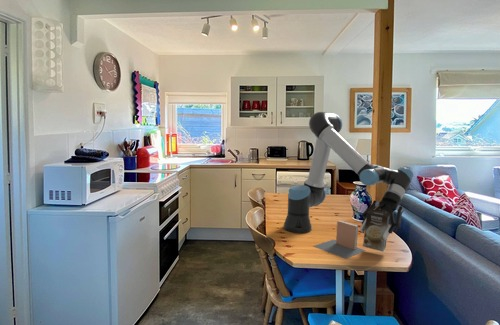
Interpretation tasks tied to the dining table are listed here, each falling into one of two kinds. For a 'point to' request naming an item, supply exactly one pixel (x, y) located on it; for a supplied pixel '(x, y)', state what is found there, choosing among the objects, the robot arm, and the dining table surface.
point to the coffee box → (376, 230)
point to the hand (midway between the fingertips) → (372, 234)
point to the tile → (347, 234)
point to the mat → (338, 249)
